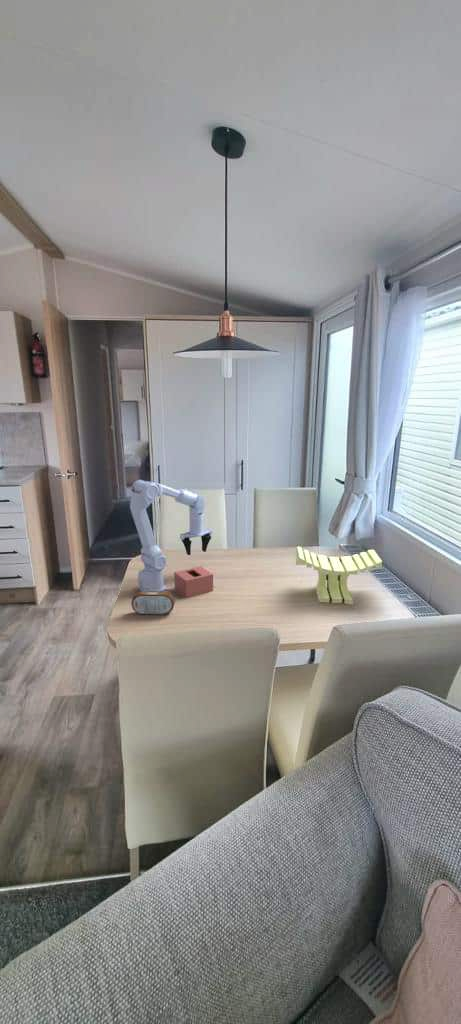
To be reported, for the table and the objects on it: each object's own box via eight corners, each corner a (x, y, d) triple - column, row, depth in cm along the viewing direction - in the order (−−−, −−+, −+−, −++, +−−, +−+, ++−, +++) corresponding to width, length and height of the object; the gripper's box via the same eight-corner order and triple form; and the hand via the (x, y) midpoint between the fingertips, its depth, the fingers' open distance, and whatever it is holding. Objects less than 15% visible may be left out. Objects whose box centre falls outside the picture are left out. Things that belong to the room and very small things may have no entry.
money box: (186, 597, 167) (186, 580, 165) (174, 588, 175) (174, 572, 173) (213, 590, 173) (213, 574, 172) (200, 582, 181) (200, 566, 180)
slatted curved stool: (367, 588, 179) (371, 547, 174) (377, 605, 163) (382, 561, 159) (294, 584, 181) (296, 543, 176) (297, 601, 165) (299, 557, 161)
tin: (174, 611, 156) (174, 590, 154) (174, 615, 153) (173, 593, 151) (132, 611, 155) (131, 589, 153) (131, 615, 152) (130, 593, 150)
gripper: (185, 527, 175) (185, 558, 178) (216, 522, 183) (215, 552, 186) (177, 522, 180) (177, 553, 184) (207, 518, 188) (207, 547, 192)
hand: (196, 552), depth 185 cm, fingers open, 7 cm apart
